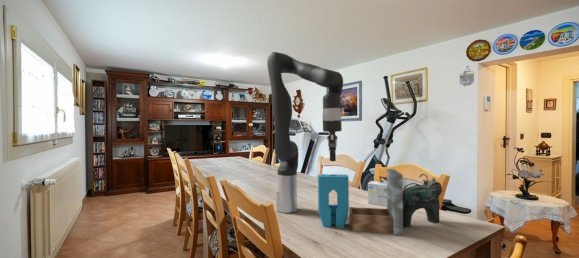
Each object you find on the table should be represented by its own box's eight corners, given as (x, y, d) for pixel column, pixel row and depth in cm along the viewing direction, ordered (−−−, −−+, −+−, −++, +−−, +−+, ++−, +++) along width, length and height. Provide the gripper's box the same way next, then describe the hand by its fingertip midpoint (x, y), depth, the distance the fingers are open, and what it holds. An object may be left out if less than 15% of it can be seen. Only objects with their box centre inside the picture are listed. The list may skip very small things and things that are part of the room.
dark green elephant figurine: (433, 218, 114) (433, 171, 114) (446, 223, 108) (446, 174, 108) (395, 223, 108) (394, 174, 108) (406, 229, 102) (406, 177, 102)
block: (347, 223, 109) (347, 174, 109) (349, 227, 104) (348, 176, 104) (318, 222, 111) (318, 174, 111) (318, 226, 106) (317, 176, 106)
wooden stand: (350, 232, 100) (350, 173, 100) (349, 219, 113) (348, 168, 113) (403, 235, 96) (402, 175, 96) (394, 222, 110) (394, 169, 110)
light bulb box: (392, 203, 137) (392, 182, 137) (389, 206, 131) (389, 185, 131) (371, 200, 143) (371, 180, 143) (367, 203, 137) (367, 182, 137)
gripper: (323, 120, 116) (324, 158, 116) (321, 119, 102) (322, 162, 102) (341, 120, 114) (341, 157, 114) (341, 119, 100) (342, 162, 100)
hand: (332, 159), depth 108 cm, fingers open, 8 cm apart
